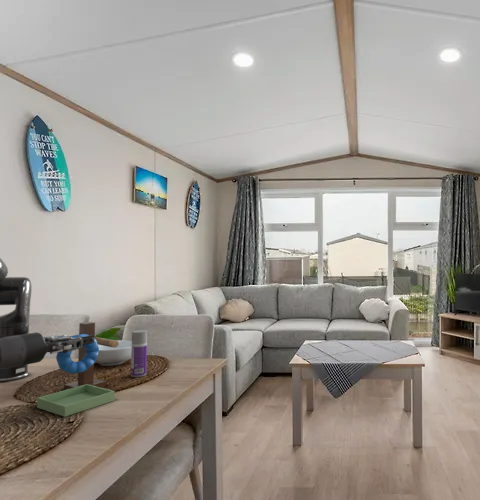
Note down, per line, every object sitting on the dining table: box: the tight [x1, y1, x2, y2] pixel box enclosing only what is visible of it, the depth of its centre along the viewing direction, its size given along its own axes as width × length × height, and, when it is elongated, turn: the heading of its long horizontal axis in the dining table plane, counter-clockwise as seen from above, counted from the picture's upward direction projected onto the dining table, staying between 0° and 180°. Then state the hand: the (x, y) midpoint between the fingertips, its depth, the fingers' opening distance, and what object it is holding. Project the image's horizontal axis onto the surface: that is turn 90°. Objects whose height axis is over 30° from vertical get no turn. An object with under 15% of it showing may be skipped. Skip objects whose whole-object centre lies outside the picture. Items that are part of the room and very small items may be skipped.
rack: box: [63, 321, 119, 390], centre depth 120 cm, size 18×8×20 cm, turn 64°
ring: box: [55, 334, 99, 375], centre depth 109 cm, size 3×11×10 cm, turn 154°
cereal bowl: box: [94, 339, 132, 367], centre depth 149 cm, size 17×17×7 cm
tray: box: [36, 384, 116, 418], centre depth 108 cm, size 13×13×3 cm
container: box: [130, 329, 148, 378], centre depth 135 cm, size 5×5×15 cm
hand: (89, 338), depth 111 cm, fingers closed on ring, 3 cm apart
